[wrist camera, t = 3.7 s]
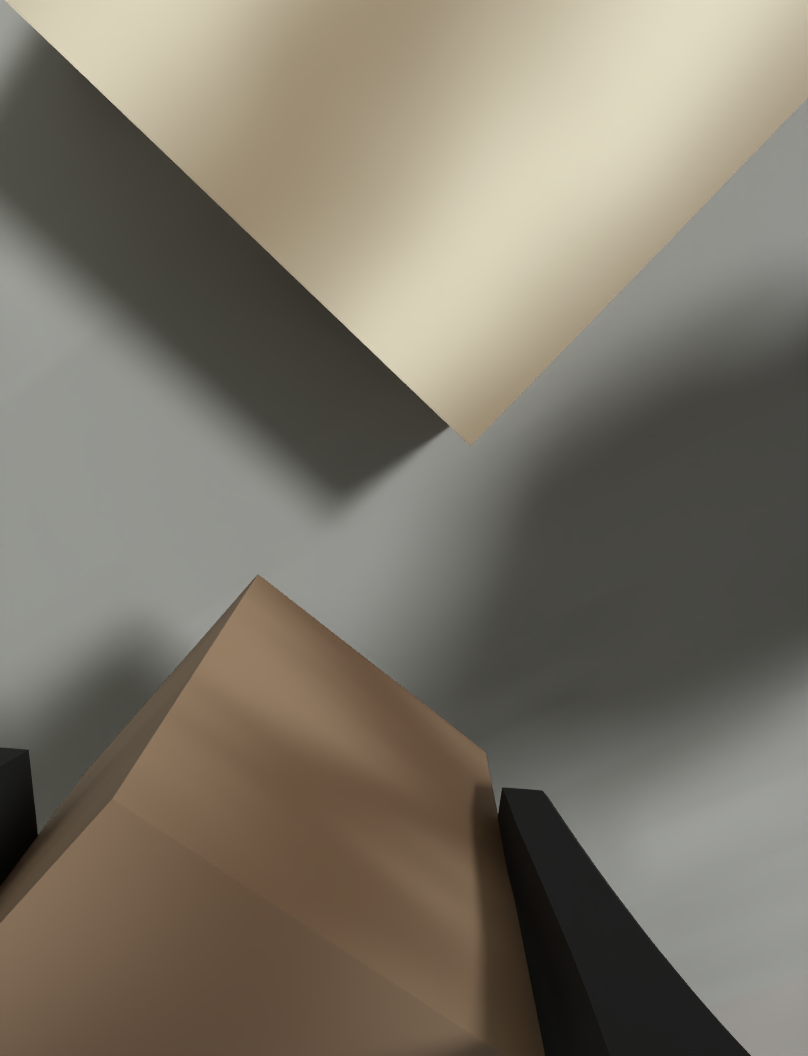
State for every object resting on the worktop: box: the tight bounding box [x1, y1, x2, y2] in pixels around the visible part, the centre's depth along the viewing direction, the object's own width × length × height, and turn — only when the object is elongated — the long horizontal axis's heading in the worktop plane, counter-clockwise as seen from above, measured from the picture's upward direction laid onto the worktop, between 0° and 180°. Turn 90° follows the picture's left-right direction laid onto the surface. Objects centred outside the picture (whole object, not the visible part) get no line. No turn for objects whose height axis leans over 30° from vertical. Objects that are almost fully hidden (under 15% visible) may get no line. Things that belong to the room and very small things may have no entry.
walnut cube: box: [0, 575, 545, 1056], centre depth 8 cm, size 5×5×5 cm
